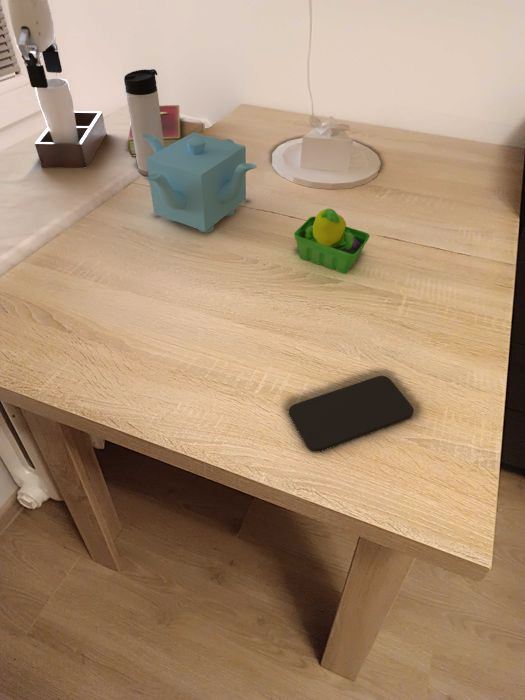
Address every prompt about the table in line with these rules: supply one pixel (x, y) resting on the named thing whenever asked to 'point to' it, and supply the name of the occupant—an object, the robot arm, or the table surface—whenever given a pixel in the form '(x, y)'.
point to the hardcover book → (164, 127)
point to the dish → (326, 158)
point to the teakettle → (197, 179)
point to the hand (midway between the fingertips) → (47, 79)
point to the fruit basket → (330, 241)
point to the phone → (349, 412)
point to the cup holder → (73, 153)
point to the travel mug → (143, 113)
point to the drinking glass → (58, 110)
